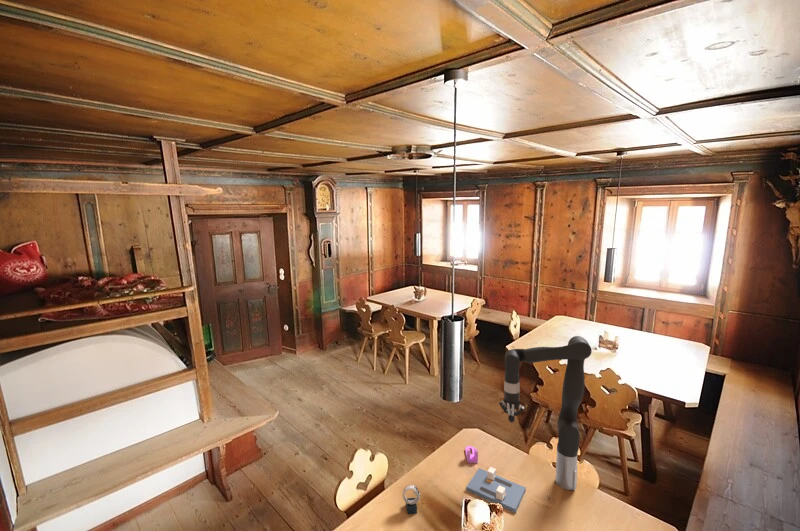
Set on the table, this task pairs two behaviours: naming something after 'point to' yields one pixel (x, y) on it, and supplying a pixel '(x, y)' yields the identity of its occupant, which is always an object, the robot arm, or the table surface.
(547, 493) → the table surface
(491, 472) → the tab
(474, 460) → the bracket
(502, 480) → the switch bank
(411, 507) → the watch
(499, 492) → the tab
